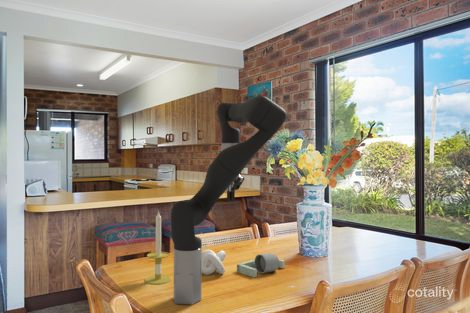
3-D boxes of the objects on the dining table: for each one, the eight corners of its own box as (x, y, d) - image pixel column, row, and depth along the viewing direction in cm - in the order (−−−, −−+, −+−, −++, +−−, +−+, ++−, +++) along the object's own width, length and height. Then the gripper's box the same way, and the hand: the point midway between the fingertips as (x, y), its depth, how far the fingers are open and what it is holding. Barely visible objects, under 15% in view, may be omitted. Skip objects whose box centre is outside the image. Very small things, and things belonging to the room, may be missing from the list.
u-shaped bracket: (284, 267, 157) (284, 260, 157) (254, 277, 144) (254, 269, 144) (267, 262, 164) (267, 256, 164) (236, 271, 151) (236, 264, 151)
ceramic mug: (280, 271, 151) (280, 253, 151) (265, 275, 146) (265, 256, 146) (263, 266, 159) (263, 248, 160) (249, 269, 154) (249, 251, 155)
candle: (154, 274, 147) (154, 207, 147) (176, 277, 143) (176, 209, 143) (139, 282, 137) (139, 211, 137) (162, 286, 134) (162, 212, 134)
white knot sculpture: (233, 275, 147) (233, 252, 147) (206, 279, 141) (206, 256, 141) (220, 267, 157) (220, 246, 157) (195, 271, 151) (195, 250, 151)
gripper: (250, 155, 136) (250, 201, 136) (226, 155, 145) (226, 198, 145) (235, 155, 131) (235, 203, 131) (212, 155, 140) (212, 200, 140)
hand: (230, 200), depth 138 cm, fingers closed
